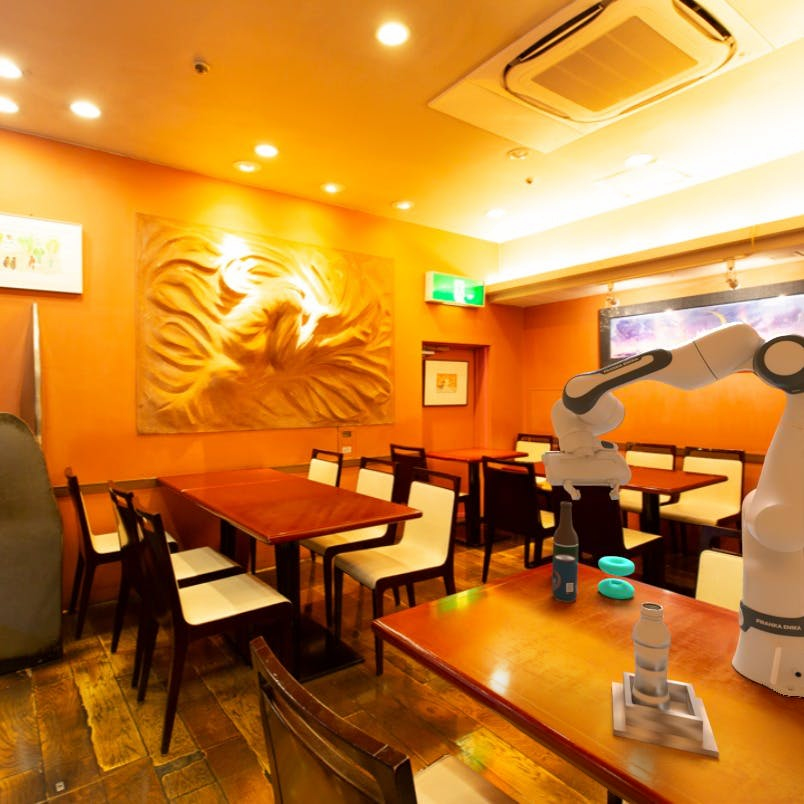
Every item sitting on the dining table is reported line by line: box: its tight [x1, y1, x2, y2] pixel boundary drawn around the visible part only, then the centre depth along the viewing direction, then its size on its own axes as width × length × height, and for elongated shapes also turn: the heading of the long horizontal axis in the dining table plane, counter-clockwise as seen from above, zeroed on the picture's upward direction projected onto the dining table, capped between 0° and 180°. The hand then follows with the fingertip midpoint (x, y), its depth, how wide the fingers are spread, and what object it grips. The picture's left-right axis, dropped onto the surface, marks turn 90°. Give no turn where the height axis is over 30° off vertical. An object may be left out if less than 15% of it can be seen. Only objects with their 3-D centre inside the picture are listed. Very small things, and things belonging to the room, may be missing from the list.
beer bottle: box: [552, 501, 579, 577], centre depth 170 cm, size 8×8×24 cm
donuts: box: [597, 556, 636, 600], centre depth 156 cm, size 10×10×10 cm
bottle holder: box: [611, 671, 720, 758], centre depth 97 cm, size 16×16×4 cm
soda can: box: [551, 554, 579, 603], centre depth 152 cm, size 7×7×12 cm
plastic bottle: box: [631, 602, 672, 711], centre depth 96 cm, size 6×7×20 cm
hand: (596, 498), depth 123 cm, fingers open, 8 cm apart
